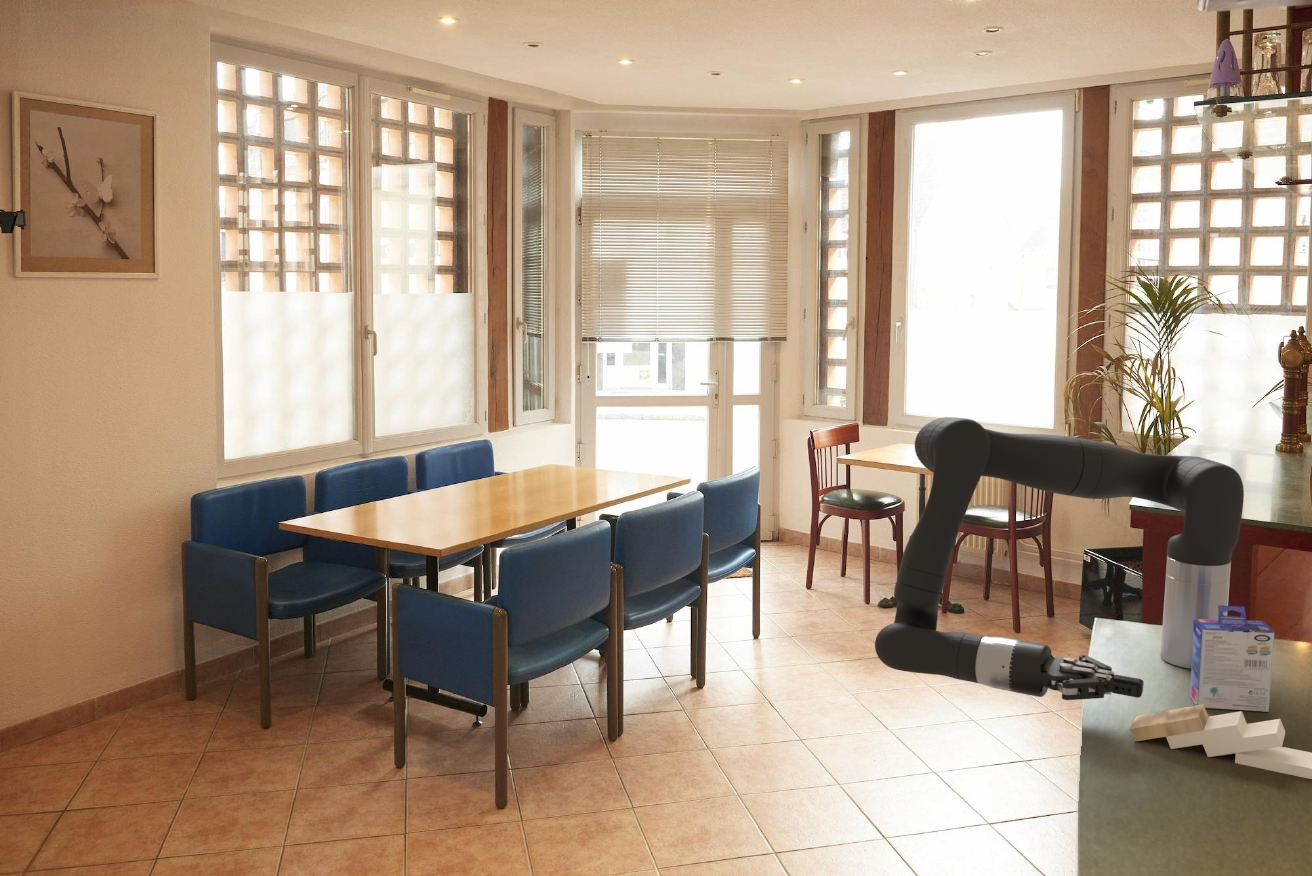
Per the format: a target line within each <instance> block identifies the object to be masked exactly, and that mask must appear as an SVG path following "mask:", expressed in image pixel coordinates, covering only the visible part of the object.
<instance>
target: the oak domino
mask: <svg viewBox="0 0 1312 876" xmlns="http://www.w3.org/2000/svg"><path fill="white" fill-rule="evenodd" d="M1206 709H1207V708H1205V707H1204V704H1202V705H1192V706H1185V707H1179V708H1175V709H1168V710H1163V711H1157V712H1152V713H1146V714H1140V715H1136V717H1135V718H1134V720H1133V722H1132V724H1131V725H1130V728H1129V731H1130V733H1131V736H1132V739H1133V741H1134V742H1140V741H1146V740H1153V739H1158V738H1159V739H1160V738H1164V737H1165V738H1166V736H1172V735H1179V734H1185V733H1191V732H1197V731H1203V730H1204V728H1205V725H1206V722H1207V720H1208V717H1209V715H1208V711H1207V710H1206Z"/></svg>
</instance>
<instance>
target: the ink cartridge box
mask: <svg viewBox="0 0 1312 876" xmlns="http://www.w3.org/2000/svg"><path fill="white" fill-rule="evenodd" d="M1226 611H1227V612H1229V611H1230V612H1232V611H1233V612H1236V613H1239V614H1240V616H1236V615H1227V616H1224V615H1223V612H1226ZM1275 635H1276V634H1275V630H1273V629H1272V628H1271V627H1270V626H1269V625H1268V624H1267V623H1266V622H1264V621H1263V620H1247V614H1246V609H1245V606H1236V605H1228V606H1222V605H1218V620H1210V619H1194V620H1193V647H1192V668H1191V671H1190V688H1189V696H1190V699H1191V701H1192V702H1193V703H1194V706H1196V705H1202V704H1204V707H1205V709H1216V710H1217V709H1218V710H1219V709H1221V710H1234V711H1235V710H1237V711H1248V712H1249V711H1251V712H1265V713H1267V712H1270V711H1269V710H1270V698H1271V684H1272V666H1273V660H1274V659H1273V658H1274V657H1273V656H1274V645H1275Z"/></svg>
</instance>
